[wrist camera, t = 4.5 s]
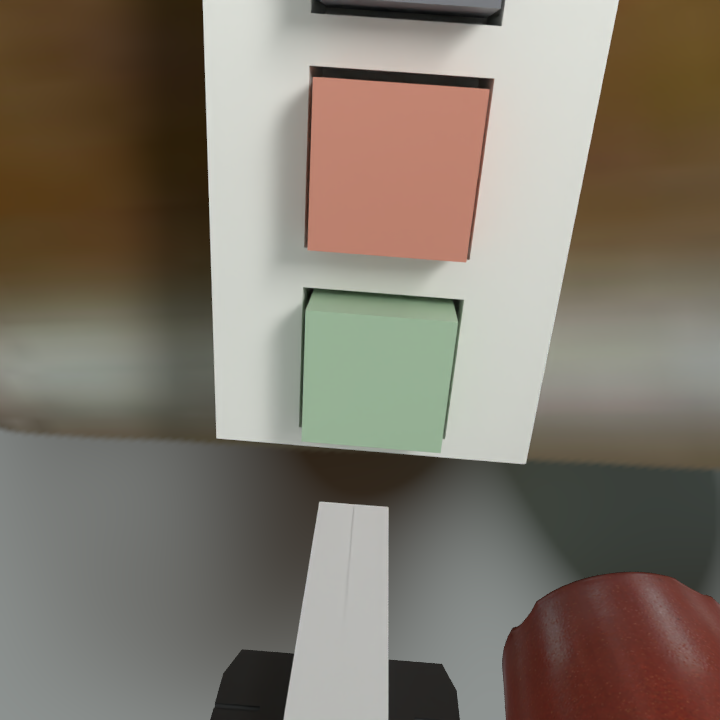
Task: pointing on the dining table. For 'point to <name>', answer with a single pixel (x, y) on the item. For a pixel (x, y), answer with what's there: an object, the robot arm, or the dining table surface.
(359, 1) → the charcoal key
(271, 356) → the key panel
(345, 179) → the brick key
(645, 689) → the flower pot
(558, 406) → the dining table surface
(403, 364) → the sage key
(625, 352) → the dining table surface
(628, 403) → the dining table surface
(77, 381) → the dining table surface
